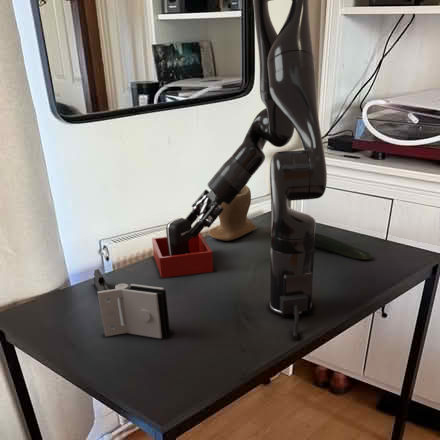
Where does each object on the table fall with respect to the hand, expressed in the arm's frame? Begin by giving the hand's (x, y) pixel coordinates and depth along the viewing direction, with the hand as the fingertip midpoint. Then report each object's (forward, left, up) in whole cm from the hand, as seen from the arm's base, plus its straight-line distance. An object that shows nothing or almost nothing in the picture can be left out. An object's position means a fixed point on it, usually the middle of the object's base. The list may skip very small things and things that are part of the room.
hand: (188, 230), depth 147 cm
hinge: (-36, +18, -9) cm, 42 cm away
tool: (-2, -38, -9) cm, 39 cm away
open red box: (0, +2, -9) cm, 9 cm away
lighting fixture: (-16, +23, -9) cm, 30 cm away
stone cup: (+17, -17, -9) cm, 25 cm away
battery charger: (0, +2, -9) cm, 9 cm away
